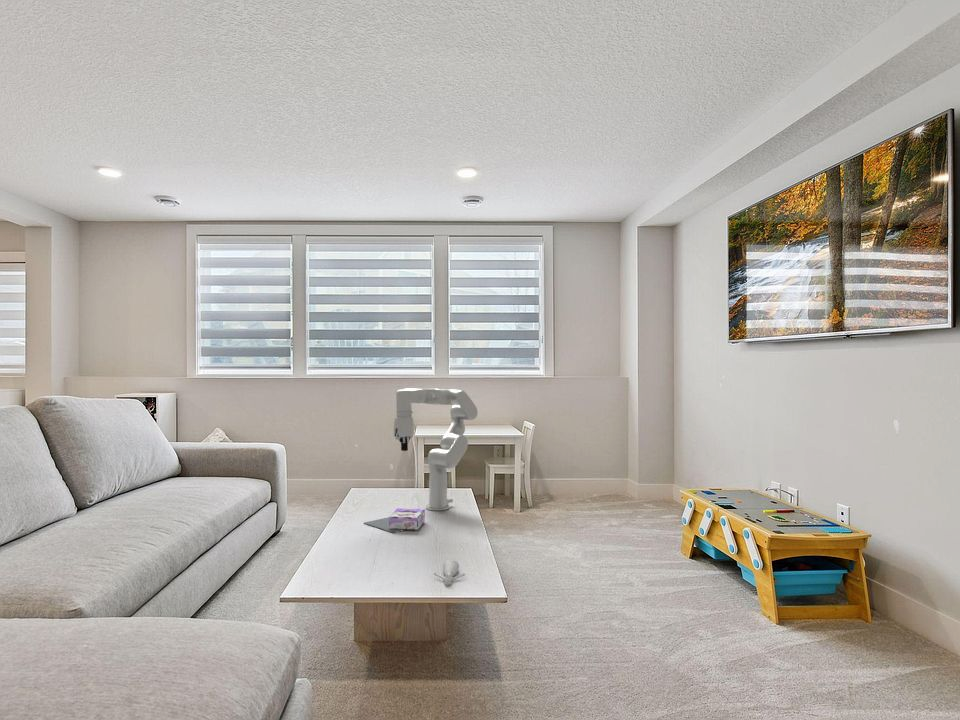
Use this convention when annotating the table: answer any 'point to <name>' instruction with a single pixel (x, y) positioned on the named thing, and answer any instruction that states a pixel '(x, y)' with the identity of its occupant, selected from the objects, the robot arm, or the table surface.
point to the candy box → (407, 519)
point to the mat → (382, 524)
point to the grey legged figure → (450, 571)
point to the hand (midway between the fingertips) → (404, 450)
